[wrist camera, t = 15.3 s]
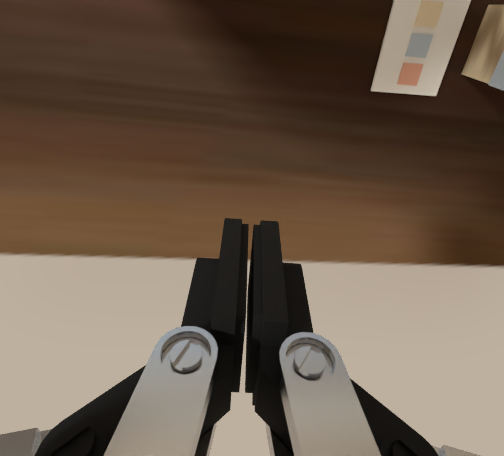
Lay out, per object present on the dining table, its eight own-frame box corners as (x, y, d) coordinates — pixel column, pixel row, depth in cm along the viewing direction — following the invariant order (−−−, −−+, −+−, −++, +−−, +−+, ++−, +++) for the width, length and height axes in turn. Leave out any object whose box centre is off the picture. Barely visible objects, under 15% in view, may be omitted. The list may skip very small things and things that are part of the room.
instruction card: (397, -14, 30) (399, -15, 30) (472, -8, 30) (475, -8, 30) (370, 90, 35) (371, 91, 35) (434, 95, 36) (436, 96, 35)
